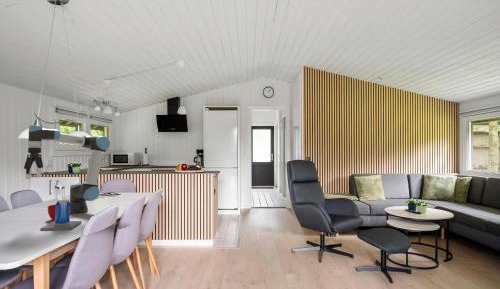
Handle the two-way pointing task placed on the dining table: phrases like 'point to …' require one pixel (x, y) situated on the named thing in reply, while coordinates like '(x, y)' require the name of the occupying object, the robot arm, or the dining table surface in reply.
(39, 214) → the dining table surface
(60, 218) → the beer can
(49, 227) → the slate tile
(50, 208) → the ceramic cup
